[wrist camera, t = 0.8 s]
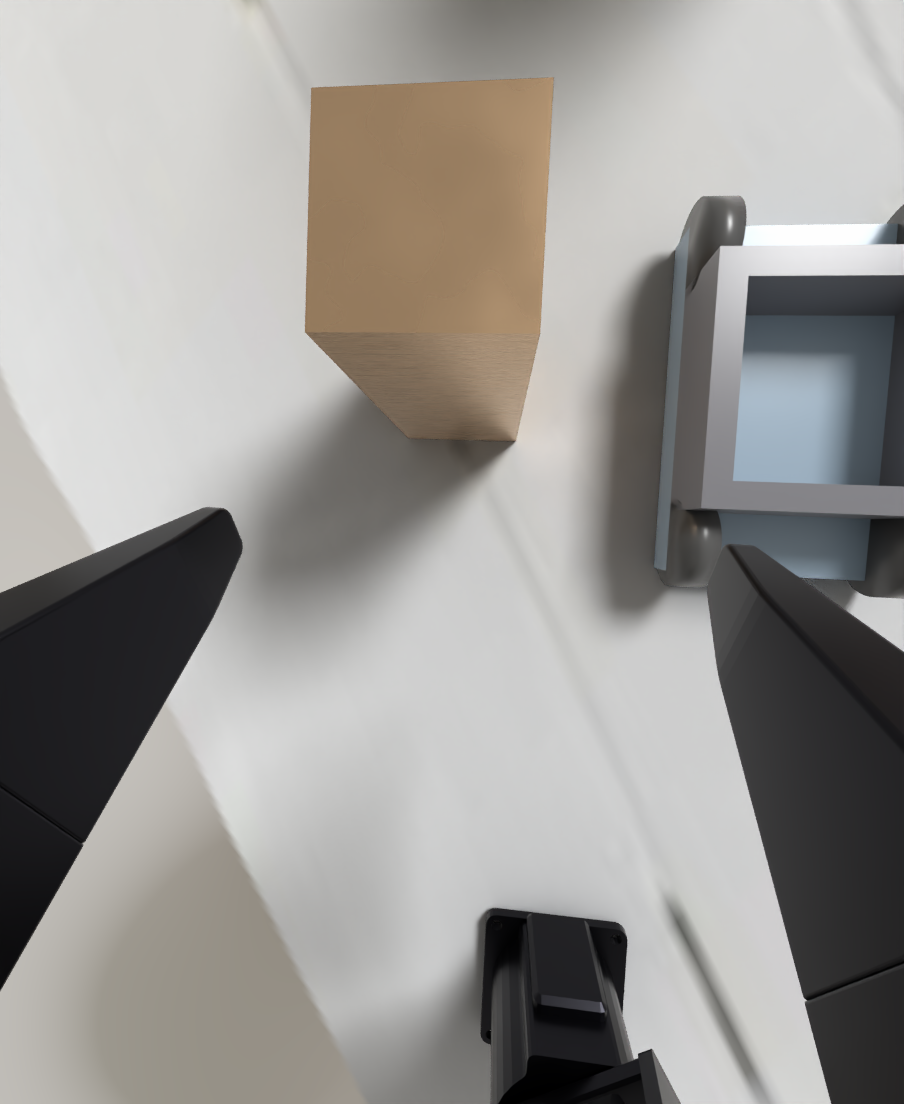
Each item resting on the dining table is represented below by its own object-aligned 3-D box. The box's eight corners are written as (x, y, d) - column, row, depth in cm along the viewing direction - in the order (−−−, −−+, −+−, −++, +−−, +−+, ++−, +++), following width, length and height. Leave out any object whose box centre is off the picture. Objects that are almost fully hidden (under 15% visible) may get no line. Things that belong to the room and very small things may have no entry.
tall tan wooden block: (515, 441, 22) (540, 333, 10) (408, 438, 22) (305, 332, 10) (521, 330, 21) (553, 77, 9) (412, 329, 22) (311, 87, 10)
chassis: (866, 592, 20) (970, 610, 16) (652, 580, 21) (694, 594, 17) (899, 231, 20) (1018, 144, 15) (676, 234, 20) (727, 152, 16)
